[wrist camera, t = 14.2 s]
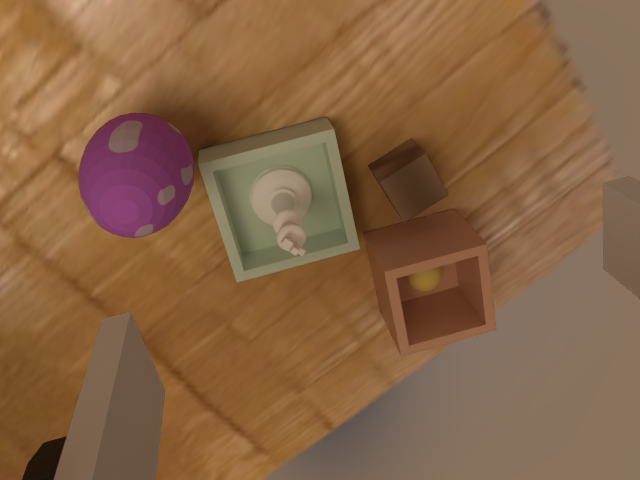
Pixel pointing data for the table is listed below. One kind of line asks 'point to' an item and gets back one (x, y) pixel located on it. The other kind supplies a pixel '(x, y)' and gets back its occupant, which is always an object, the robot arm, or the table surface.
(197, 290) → the table surface
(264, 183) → the chess piece
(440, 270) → the yellow ball
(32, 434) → the table surface
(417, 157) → the walnut block
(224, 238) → the green tray
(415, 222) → the square terracotta box
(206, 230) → the table surface
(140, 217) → the toy
